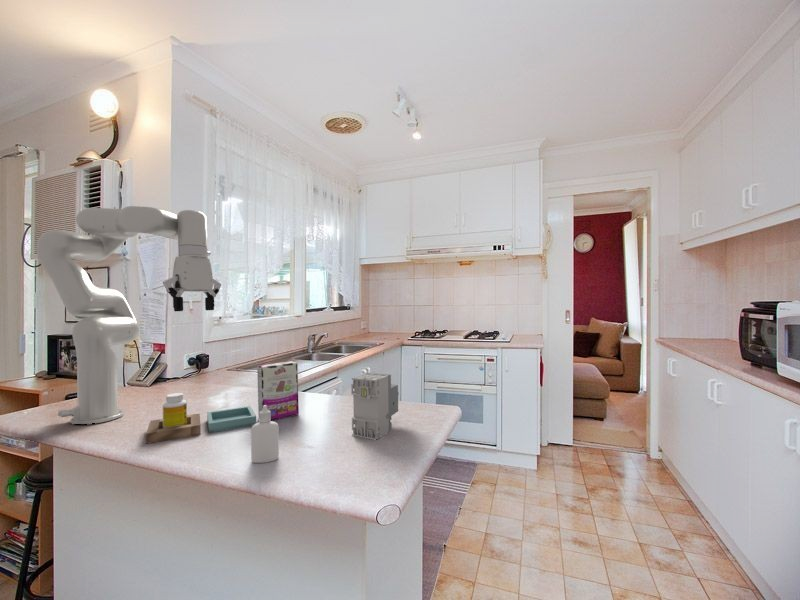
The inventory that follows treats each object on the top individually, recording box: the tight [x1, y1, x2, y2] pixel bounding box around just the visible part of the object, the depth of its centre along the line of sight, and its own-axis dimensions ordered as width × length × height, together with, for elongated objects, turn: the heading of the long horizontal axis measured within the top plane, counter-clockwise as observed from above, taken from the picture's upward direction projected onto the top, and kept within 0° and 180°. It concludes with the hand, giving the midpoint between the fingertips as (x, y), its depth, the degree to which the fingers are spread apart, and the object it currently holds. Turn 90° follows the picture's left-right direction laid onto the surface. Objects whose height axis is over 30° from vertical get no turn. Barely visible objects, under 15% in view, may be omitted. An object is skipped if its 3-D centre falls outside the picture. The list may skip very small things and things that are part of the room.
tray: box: [206, 405, 257, 434], centre depth 105 cm, size 12×12×2 cm
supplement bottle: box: [162, 392, 188, 428], centre depth 98 cm, size 6×6×10 cm
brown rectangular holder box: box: [145, 413, 202, 445], centre depth 98 cm, size 12×12×2 cm
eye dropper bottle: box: [250, 405, 280, 464], centre depth 79 cm, size 4×6×12 cm
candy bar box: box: [256, 360, 300, 421], centre depth 110 cm, size 11×5×16 cm, turn 129°
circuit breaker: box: [350, 372, 399, 440], centre depth 98 cm, size 8×14×15 cm, turn 155°
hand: (194, 310), depth 106 cm, fingers open, 9 cm apart
